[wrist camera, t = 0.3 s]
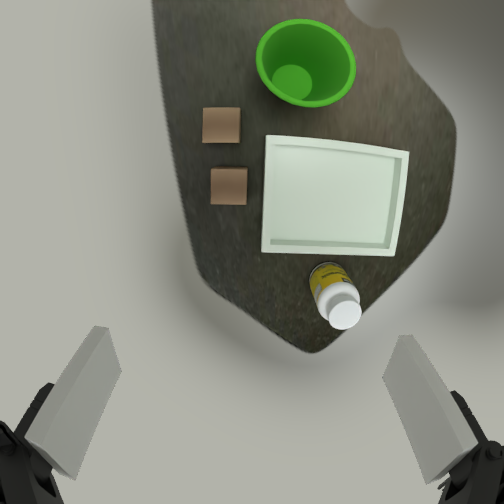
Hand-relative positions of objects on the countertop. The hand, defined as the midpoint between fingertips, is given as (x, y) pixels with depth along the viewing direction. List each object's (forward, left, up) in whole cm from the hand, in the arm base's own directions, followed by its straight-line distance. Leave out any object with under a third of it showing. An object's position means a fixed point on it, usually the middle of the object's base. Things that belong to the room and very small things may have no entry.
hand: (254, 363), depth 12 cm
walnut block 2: (-4, -3, -27) cm, 27 cm away
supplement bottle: (+9, +11, -27) cm, 30 cm away
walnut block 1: (-11, -4, -27) cm, 29 cm away
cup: (-17, +4, -27) cm, 32 cm away
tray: (-3, +10, -27) cm, 29 cm away
